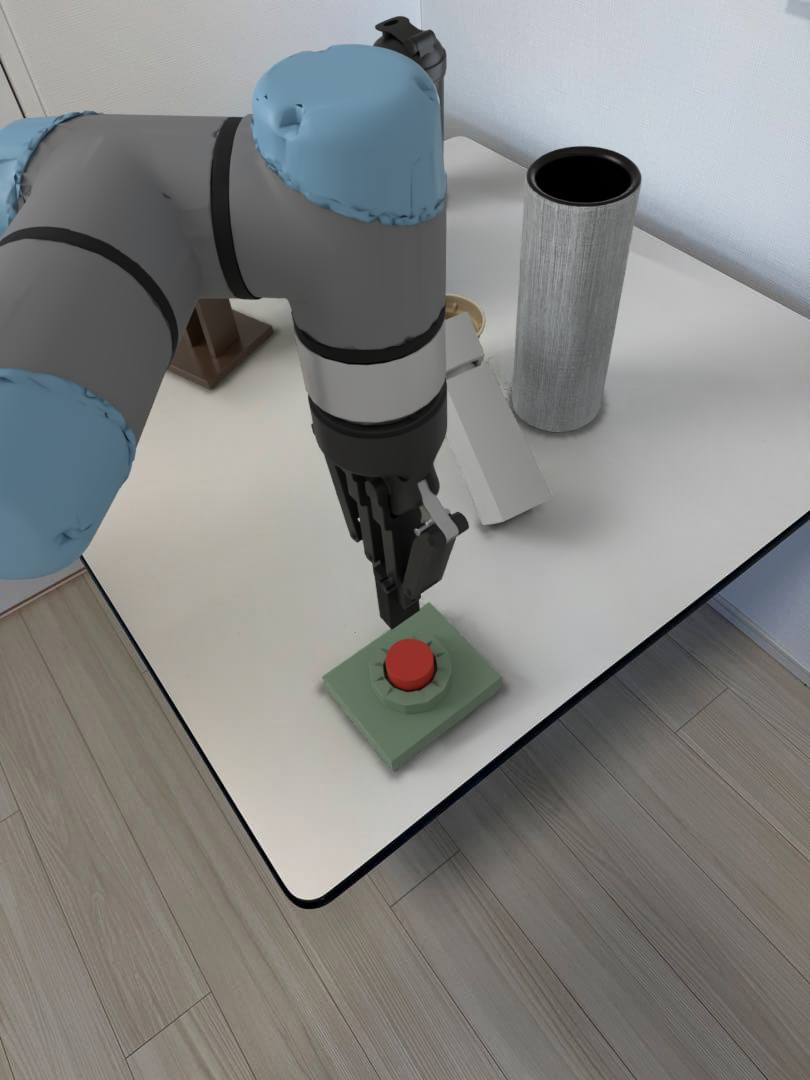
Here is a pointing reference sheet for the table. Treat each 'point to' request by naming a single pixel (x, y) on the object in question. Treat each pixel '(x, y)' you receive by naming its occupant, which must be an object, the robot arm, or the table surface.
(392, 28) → the water bottle
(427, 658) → the button
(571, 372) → the vase
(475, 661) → the button box
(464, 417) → the faucet
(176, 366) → the brown lever stand
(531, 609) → the table surface
